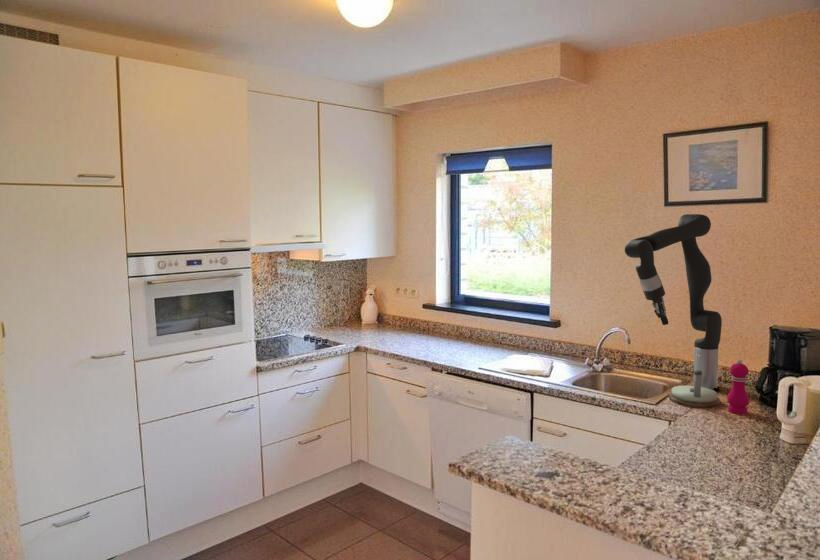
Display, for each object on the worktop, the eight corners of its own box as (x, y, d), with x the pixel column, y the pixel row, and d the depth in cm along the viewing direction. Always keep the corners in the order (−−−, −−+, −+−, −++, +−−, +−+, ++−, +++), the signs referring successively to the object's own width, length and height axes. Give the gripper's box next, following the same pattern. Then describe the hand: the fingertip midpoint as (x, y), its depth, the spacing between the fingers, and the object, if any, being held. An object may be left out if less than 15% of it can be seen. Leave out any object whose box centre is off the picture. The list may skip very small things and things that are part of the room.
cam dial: (663, 395, 234) (664, 366, 233) (684, 388, 244) (685, 359, 243) (703, 405, 221) (704, 374, 220) (725, 397, 231) (726, 367, 230)
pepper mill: (745, 409, 221) (747, 357, 219) (751, 415, 214) (753, 362, 212) (724, 407, 223) (726, 356, 221) (729, 414, 216) (731, 361, 214)
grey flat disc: (662, 393, 243) (663, 389, 242) (708, 394, 241) (708, 390, 241) (678, 407, 225) (678, 403, 225) (727, 408, 223) (727, 403, 223)
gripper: (643, 282, 239) (657, 318, 243) (640, 294, 229) (655, 333, 232) (662, 277, 235) (676, 315, 239) (660, 290, 225) (674, 329, 228)
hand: (665, 324), depth 235 cm, fingers closed
